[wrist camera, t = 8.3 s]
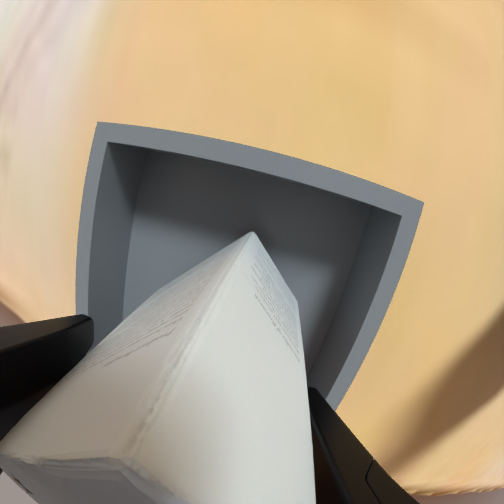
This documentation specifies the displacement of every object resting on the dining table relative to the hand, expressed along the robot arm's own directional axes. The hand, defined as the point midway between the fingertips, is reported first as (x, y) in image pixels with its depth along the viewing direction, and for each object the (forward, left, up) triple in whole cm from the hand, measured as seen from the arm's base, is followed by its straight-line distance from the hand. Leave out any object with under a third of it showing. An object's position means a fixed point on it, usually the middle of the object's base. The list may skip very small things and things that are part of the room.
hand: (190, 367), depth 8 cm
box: (0, 0, -8) cm, 8 cm away
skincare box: (0, 0, -6) cm, 6 cm away
